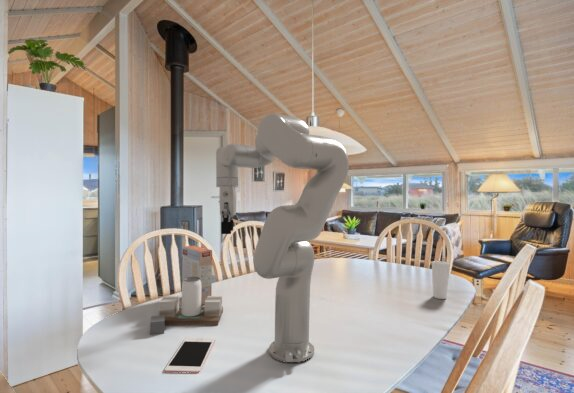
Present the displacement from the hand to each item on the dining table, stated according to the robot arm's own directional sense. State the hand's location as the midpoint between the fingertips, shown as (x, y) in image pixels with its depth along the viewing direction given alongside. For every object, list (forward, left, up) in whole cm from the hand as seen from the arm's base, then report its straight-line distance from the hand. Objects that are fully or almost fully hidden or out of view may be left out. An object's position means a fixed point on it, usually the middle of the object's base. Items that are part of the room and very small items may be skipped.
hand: (227, 232), depth 118 cm
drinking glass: (+20, -87, -30) cm, 94 cm away
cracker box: (+16, +14, -30) cm, 37 cm away
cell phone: (-27, +6, -30) cm, 41 cm away
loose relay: (-12, +20, -30) cm, 38 cm away
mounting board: (-2, +12, -30) cm, 32 cm away
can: (-2, +12, -28) cm, 31 cm away
